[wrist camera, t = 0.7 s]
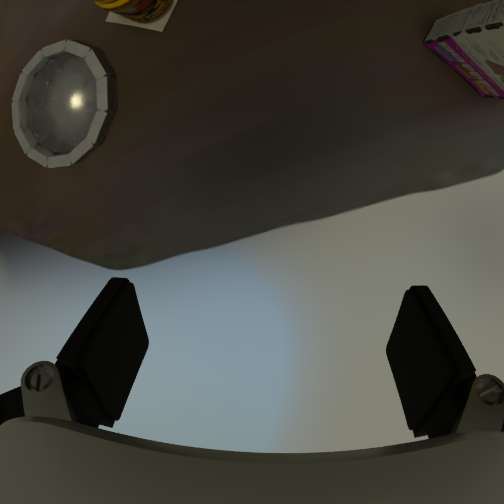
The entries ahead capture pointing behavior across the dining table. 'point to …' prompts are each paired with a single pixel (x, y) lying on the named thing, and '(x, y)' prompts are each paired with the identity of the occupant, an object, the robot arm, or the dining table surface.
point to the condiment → (139, 12)
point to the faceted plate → (64, 103)
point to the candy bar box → (473, 45)
